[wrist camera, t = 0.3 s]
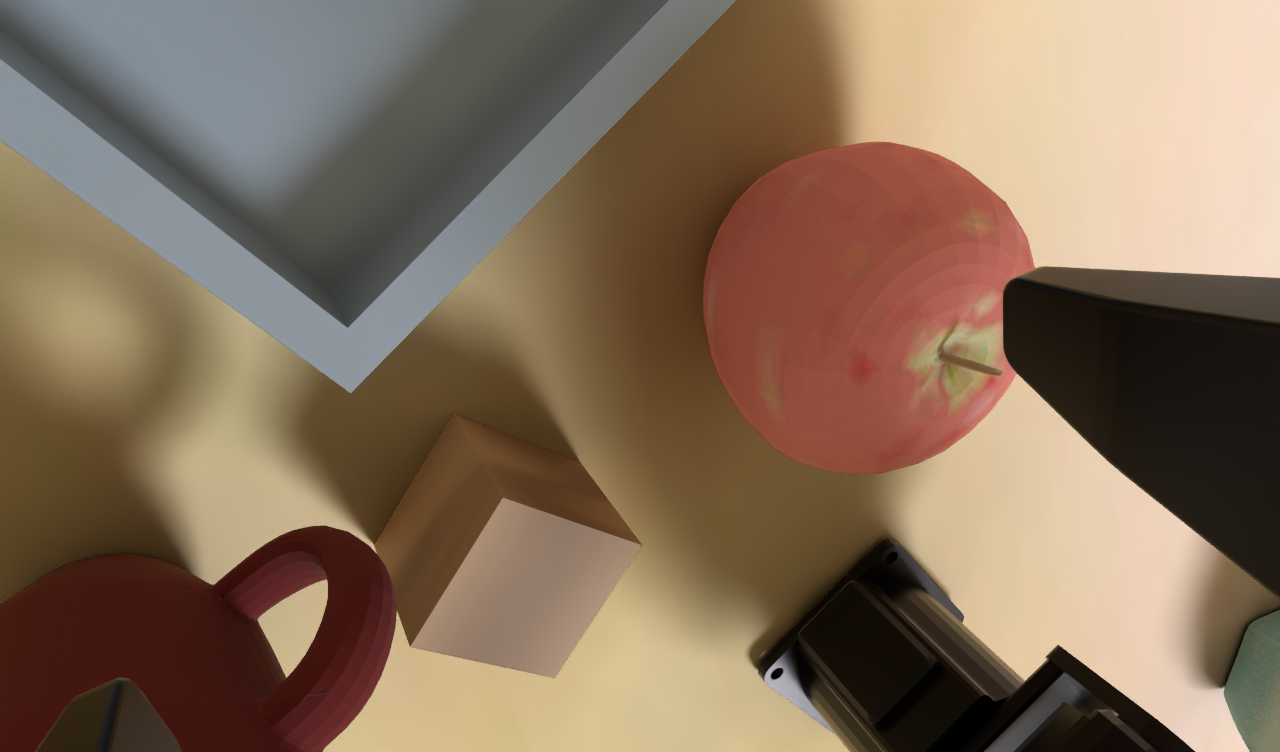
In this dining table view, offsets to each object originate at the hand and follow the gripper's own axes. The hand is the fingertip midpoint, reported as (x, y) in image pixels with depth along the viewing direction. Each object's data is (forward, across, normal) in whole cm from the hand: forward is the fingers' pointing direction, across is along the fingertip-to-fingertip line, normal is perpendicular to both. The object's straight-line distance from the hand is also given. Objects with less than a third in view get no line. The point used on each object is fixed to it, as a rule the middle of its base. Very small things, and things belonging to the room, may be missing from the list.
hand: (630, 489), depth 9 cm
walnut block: (+14, 0, +9) cm, 16 cm away
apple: (+14, -9, +6) cm, 17 cm away
